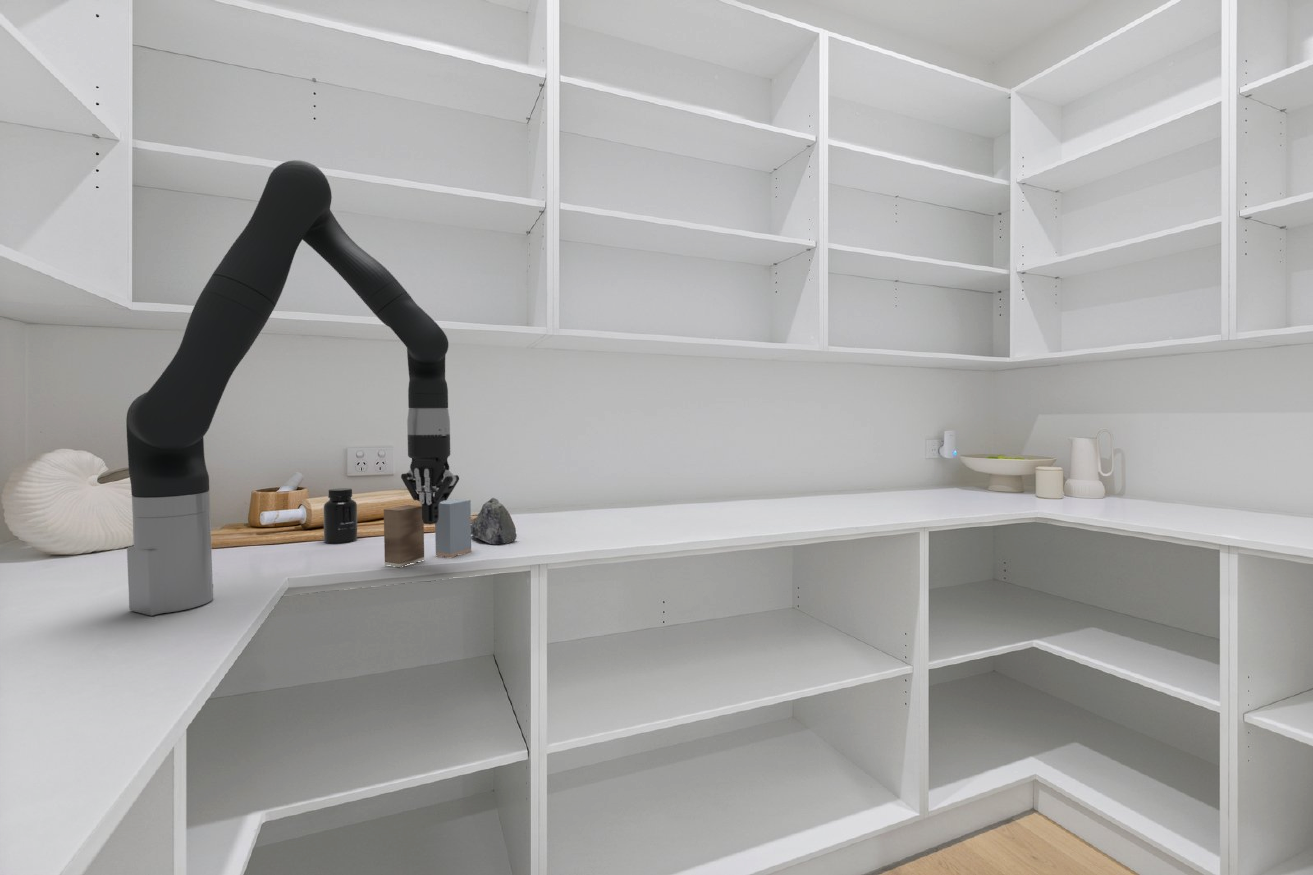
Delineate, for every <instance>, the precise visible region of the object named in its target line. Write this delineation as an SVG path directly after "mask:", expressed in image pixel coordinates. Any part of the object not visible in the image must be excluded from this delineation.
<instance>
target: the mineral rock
mask: <svg viewBox="0 0 1313 875" xmlns="http://www.w3.org/2000/svg"><path fill="white" fill-rule="evenodd" d="M517 536H518V535H517V529H516V525H515V523H514V521H513V519H512V517H511V514H510V513H509V511H508V510H507V508H506V507H505V506H504V504H502V503H500V501H499V500H498V499H497V498H495V497H491V498H490V499H489V500H488V501H485V503H483V505H482V507H481V509H480V511H479V513H478V514H477V516H476V517H474V518H473V520H471V537H474V538H475V539H480V540H481V541H483V542H485V543H488V544H489V545H491V544H492V545H501V544H504V545H505V544H509V543H511V542H513V541H515V540H516V539H517Z"/></svg>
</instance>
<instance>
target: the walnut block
mask: <svg viewBox="0 0 1313 875" xmlns="http://www.w3.org/2000/svg"><path fill="white" fill-rule="evenodd" d="M424 525H425V524H424V523H423V520H422V505H415V504H406V505H400V506H399V505H398V506H394V507H390V508H384V509H383V535H384V537H383V538H384V539H383V540H384V541H383V542H384V566H385V565H391V566H395V567H400V568H399V569H402V568H401V567H402V566H405V565H407V564H410V563H416V562H418V561H422V560H424V561H425V528H424V527H425V526H424ZM416 564H417V563H416ZM395 567H394V568H395Z"/></svg>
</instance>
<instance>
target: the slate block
mask: <svg viewBox="0 0 1313 875" xmlns="http://www.w3.org/2000/svg"><path fill="white" fill-rule="evenodd" d="M471 506H472V504H471V499H461V498H460V499H457V498H454V499H447V500H445V501H442V502H440V503H439V512H438V513H439V519H438V521H437V523H435V524H434V525H435V526H434V527H435V530H434V531H435V534H434V535H435V541H434V542H435V556H436V555H438V556H437V557H439V556H445V557H444V558H446V557H452V558H454V557H453V556H456V555H458V554H462V555H465V554H464V553H466V554H468V553H467V552H469V553H471V552H472V535H471V524H472V519H471V518H472V515H471V514H472V513H471V512H472V511H471V510H472V509H471ZM470 551H471V552H470ZM456 557H457V556H456Z"/></svg>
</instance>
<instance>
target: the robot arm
mask: <svg viewBox="0 0 1313 875" xmlns="http://www.w3.org/2000/svg"><path fill="white" fill-rule="evenodd" d="M332 198H333V197H332V188H331V185H330V183H329V181H328V178H327V177H326V175H325V174H324V172H323V171H322V170H321V169H320V168H319V167H318V166H316V165H315V164H313V163H311V162H308V161H305V160H300V159H299V160H295V159H294V160H293V159H292V160H288V161H285V162H282V163H281V164H278V165H277V166H276V167H275V168H274V169H273V170H272V171H271V173H270V174H269V177H268V178H267V181H266V184H265V187H264V189H263V192H262V194H261V195H260V197H259V201H258V203H257V205H256V208H255V209H254V211H253V213H252V216H250V217H251V218H250V219H249V221H248V223H247V225H246V226H245V227H244V229H243V230H242V232H241V233H240V234H239V235H238V237H237V238H236V239H235V241H234V242H232V244H231V247H230V248H229V249H228V251H227V252H226V254H224V256H223V258H222V259H221V261H220V263H219V264H218V265H217V266H216V268H215V270H214V271H213V273H211V274H212V275H211V276H210V278H209V280H208V281H207V282H206V284H205V285H204V288H203V289H202V291H201V292H200V294H199V296H198V298H197V300H196V302H195V305H194V306H193V309H192V311H191V312H190V313H191V314H190V316H189V319H188V321H187V325H186V328H185V330H184V334H183V337H182V340H181V343H180V344H179V347H178V349H177V351H176V353H175V355H174V357H173V358H172V360H171V361H170V362H169V364H168V365H167V367H166V368H164V370H163V372H162V374H161V375H160V376H159V377H158V378H157V380H156V381H155V382H154V383H153V385H152V386H151V387H150V388H149V390H147V392H144V393H142V394H140V395H139V396H137V397H136V398H135V399H134V400H133V401H132V402H131V404H130V405H129V407H128V409H127V412H126V418H125V420H126V422H125V423H126V425H125V426H126V428H125V429H126V444H127V445H126V447H127V461H128V462H127V463H128V464H127V465H128V474H129V481H130V487H131V488H130V491H131V499H132V500H131V503H132V504H131V506H132V531H133V532H132V535H133V538H132V539H133V546H132V545H131V546H128V547H127V549H126V557H127V558H126V559H127V561H126V562H127V579H128V580H127V581H128V582H127V583H128V604H129V611H132V612H135V613H139V614H143V615H146V616H157V615H160V614H167V613H173V612H180V611H184V610H189V609H193V608H197V607H200V606H204V605H206V604H208V603H210V602H212V601H213V600H214V584H213V582H214V581H213V559H212V558H213V555H212V554H213V553H212V529H211V526H212V525H211V498H210V497H211V496H210V494H211V493H210V475H209V473H208V469H207V466H206V460H205V458H206V457H205V444H204V440H205V439H204V436H205V435H206V434H207V432H208V431H209V429H210V426H211V425H212V421H213V420H214V417H215V415H216V411H217V409H218V406H219V404H220V402H221V399H222V397H223V394H224V393H225V390H226V388H227V385H228V383H229V381H230V379H231V376H233V373H234V372H235V370H236V369H237V367H238V366H239V364H240V363H241V362H242V360H243V358H244V357H245V356H246V355H247V353H248V352H249V350H250V349H251V347H252V346H253V344H254V342H255V341H256V340H257V338H258V336H259V334H260V333H261V331H263V329H264V327H265V326H266V323H267V322H268V320H269V318H270V317H271V315H272V313H273V311H274V310H275V307H276V305H277V303H278V301H279V300H280V297H281V295H282V293H283V291H284V288H285V286H286V282H287V279H288V276H289V274H290V270H291V268H292V264H293V260H294V258H295V255H296V251H297V250H298V247H299V245H300V244H301V242H302V240H303V241H304V242H305V243H306V244H307V245H308V246H309V247H310V248H312V250H314V252H316V253H317V254H318V255H319V256H320V257H321V258H322V259H324V261H325V262H327V263H328V265H329V266H331V268H333V269H334V271H336V272H337V274H338V275H339V276H340V277H341V278H342V279H343V280H344V281H345V282H346V283H347V285H349V287H350V288H351V289H352V290H353V291H354V292H355V294H356V295H357V296H358V298H360V299H361V301H363V303H365V305H366V306H367V307H368V309H370V311H371V312H372V313H373V314H374V315H375V316H376V318H378V319H379V321H381V323H383V324H384V325H386V327H388V328H389V329H391V331H392V332H393V333H394V334H395V335H396V336H397V337H398V339H399V340H400V341H401V342H402V343H403V345H404V346H405V347H406V354H407V356H406V357H407V368H408V376H409V381H408V389H407V393H408V395H407V396H408V400H407V401H408V406H407V407H408V412H407V421H406V422H407V423H406V424H407V456H408V457H409V458H410V459H411V462H410V465H409V468H410V469H409V470H408V471H407V472H406V473H402V474H401V476H400V478H401V481H402V482H403V484H404V485H405V487H406V489H407V491H408V492H409V494H410V496H411V498H412V499H413V501H418V502H419V504H420V505H421V506H422V520H423V523H424V525H435V523H437V521H438V519H439V513H438V512H439V503H440V502H443V501H448V500H449V497H450V495H451V493H452V492H453V491H454V489H455V488H456V486H457V484H458V482H459V480H460V477H459V475H457V474H456V475H454V473H452V472H451V471H450V464H449V462H448V458H449V457H450V456H451V421H450V413H449V388H448V383H447V380H446V354H447V352H448V350H449V340H448V336H447V335H446V332H444V330H443V329H442V328H441V327H440V326H439V325H438V323H437V322H436V321H435V320H434V319H433V318H432V317H431V316H430V315H429V314H428V313H427V312H426V311H425V310H423V309H422V307H420V306H419V305H418V304H417V303H416V301H415V300H414V299H413V298H412V296H411V294H410V293H408V292H407V290H406V289H405V288H404V287H403V285H402V284H401V283H400V282H399V281H398V279H396V277H395V276H394V275H393V274H392V272H390V271H389V270H388V269H387V268H386V267H385V266H384V265H383V264H382V263H380V262H379V261H378V260H377V259H375V258H374V257H373V256H371V255H370V254H369V253H368V252H366V251H365V250H364V249H363V248H362V247H360V246H359V245H358V243H356V242H355V241H354V240H353V239H352V238H351V237H350V236H349V234H348V233H346V231H345V230H344V229H343V227H342V226H341V224H340V223H339V221H338V220H337V219H336V217H335V215H334V214H333V212H332V211H331V205H332Z"/></svg>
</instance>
